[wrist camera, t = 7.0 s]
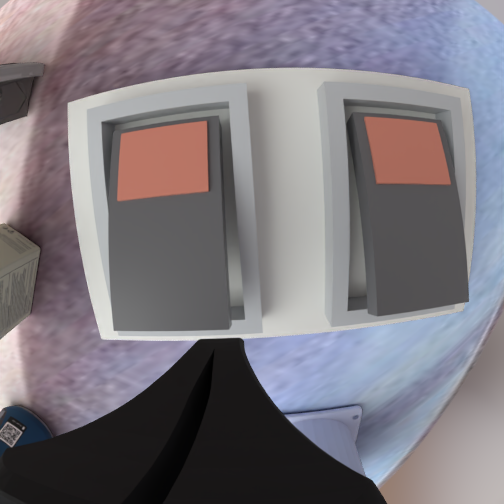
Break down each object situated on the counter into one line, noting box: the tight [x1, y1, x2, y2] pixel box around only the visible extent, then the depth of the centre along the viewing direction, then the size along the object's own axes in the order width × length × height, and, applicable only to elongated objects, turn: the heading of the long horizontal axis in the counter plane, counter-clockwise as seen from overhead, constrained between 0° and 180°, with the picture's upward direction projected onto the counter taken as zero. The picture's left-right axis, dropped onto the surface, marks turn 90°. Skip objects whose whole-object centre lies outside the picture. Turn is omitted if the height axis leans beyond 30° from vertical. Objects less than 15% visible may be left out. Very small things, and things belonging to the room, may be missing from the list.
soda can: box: [0, 405, 53, 457], centre depth 17 cm, size 7×7×12 cm
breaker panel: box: [68, 68, 476, 341], centre depth 15 cm, size 14×23×4 cm, turn 94°
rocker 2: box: [346, 112, 469, 317], centre depth 13 cm, size 9×5×1 cm, turn 4°
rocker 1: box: [108, 115, 232, 331], centre depth 13 cm, size 9×5×1 cm, turn 4°
